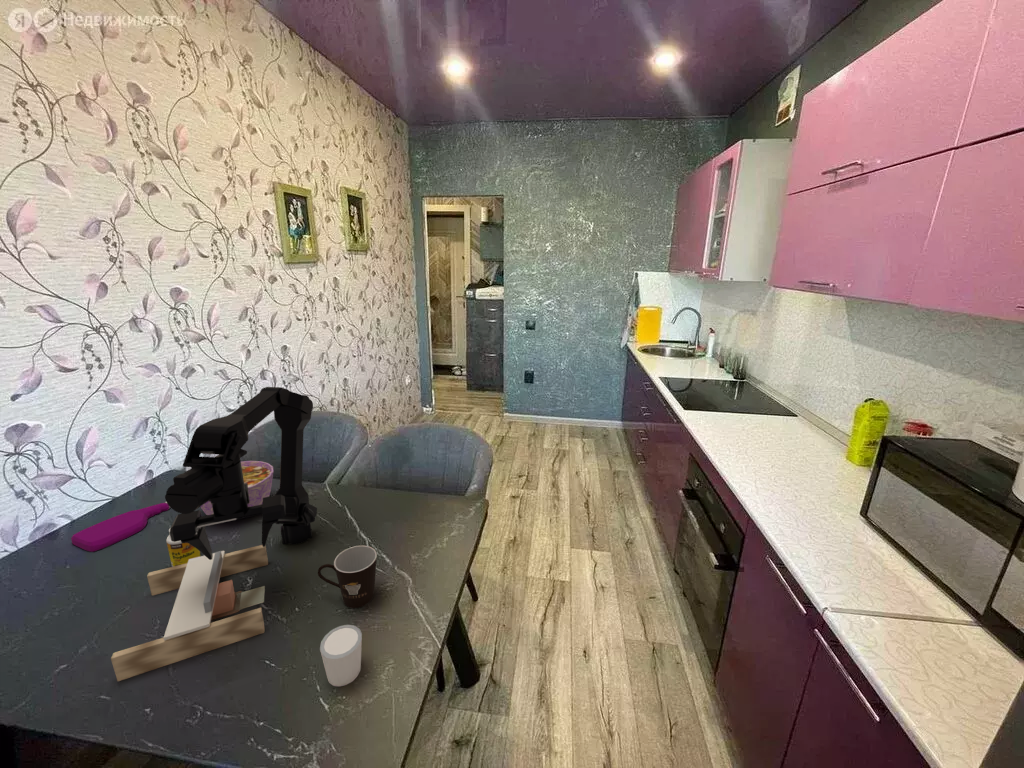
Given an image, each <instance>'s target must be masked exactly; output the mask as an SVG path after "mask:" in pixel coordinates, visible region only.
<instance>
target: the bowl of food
mask: <svg viewBox="0 0 1024 768" xmlns="http://www.w3.org/2000/svg"><path fill="white" fill-rule="evenodd" d="M241 467H242V473H243V479H244V483H247V484H248V493H249V500H250V501H249V504H248V507H251V506H256V505H261V504H262V503H263V498H265V497H270V495H271V491H272V485H273V477H274V466H273V465H271V464H270V463H269V462H265V461H262V460H261V461H260V460H259V461H258V460H246V461H241ZM199 508H201V510H202V511H203V512H204V515H205V516H206V515H211V514H213V509H212V503H211V501H210V502H209V501H208V502H206V503H205V504H203V505H202V506H200V507H199Z"/></svg>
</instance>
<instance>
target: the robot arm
mask: <svg viewBox="0 0 1024 768" xmlns="http://www.w3.org/2000/svg"><path fill="white" fill-rule="evenodd" d="M313 409H314V403H313V401H312V399H310V397H309V396H308V395H307V394H306V395H305V394H300V393H298V392H294V391H292V390H289V389H287V388H285V387H279V386H266V387H263V388H261V389H260V390H259V392H258V393H257V394H255V396H253V397H251V398H250V399H249V400H248V401H246V402H245V403H243V404H242V405H241V406H239V407H238V408H237V409H235V410H234V411H232V412H231V413H229V414H228V415H226V416H221V417H217V418H214V419H210V420H208V421H207V422H204V423H202V424H201V425H199V426H198V427H196V429H195V430H194V433H193V435H192V437H191V440H190V443H189V446H188V449H187V450H186V451H187V452H186V455H185V458H184V461H183V462H182V463H183V464H182V467H183V468H190V469H188V470H186V471H184V472H183V473H180V474H177V475H176V476H174V477H173V479H172V481H173V484H172V485H170V486H168V488H167V489H166V492H165V495H164V498H165V502H167V504H168V505H169V506H170V507H171V508H170V509H171V510H173V511H174V512H176V513H178V514H177V515H176V516H175V517H174V520H173V522H172V524H171V526H170V528H169V529H170V536H171V541H174V542H176V541H180V540H181V543H189V544H190V545H192V546H193V547H195V548H196V549H198V550H199V551H200V554H201V555H203V556H204V555H205V556H206V557H207V558H208V559H209V560H211V559H212V557H213V555H212V553H213V550H212V546H211V543H210V540H209V537H208V534H207V528H206V527H207V526H208V527H209V526H213V525H217V524H223V523H226V522H231V521H236V520H240V519H245V518H249V517H254V516H259V515H262V521H261V545H262V546H263V547H265V545H266V544H267V540H268V536H269V534H270V531H271V529H272V528H273V527H272V526H273V525H274V524H275V525H281V526H280V535H281V541H282V545H299V544H302V543H305V542H307V541H308V540H310V539H312V538H313V534H312V531H313V529H312V525H311V524H312V523H314V522H315V521H316V517H317V514H318V507H316V506H315V505H312V504H310V500H309V493H308V492H307V490H306V488H304V486H303V463H304V462H303V461H304V460H303V459H304V457H303V456H304V454H303V453H304V430H305V428H306V426H307V425H308V424H309V422H310V420H311V418H312V413H313ZM272 413H273V416H274V421H275V422H276V424H277V425H278V427H279V429H280V430H281V431H280V432H281V433H280V434H281V437H280V440H281V441H280V468H279V469H280V471H279V475H280V477H279V488H278V490H277V491H276V493H275V494H274V495H271V496H269V497H265V498H263V503H262V504H261V505H256V506H251V507H248V504H249V501H250V500H249V493H248V484H247V483H244V479H243V473H242V467H241V462H242V460H241V458H242V457H244V456H245V455H247V453H248V451H247V450H245V449H243V446H245V444H246V443H247V442H248V441H249V433H250V432H251V431H252V429H254V428H255V427H256V426H258V424H260V423H261V422H262V421H263V420H264V419H266V418H267V417H268V416H270V414H272ZM201 454H202V455H216V456H200V455H201ZM208 501H209V502H210V501H211V503H212V509H213V514H211V515H206V514H205V515H203V514H202V511H201V510H200V509H199V508H201V507H200V506H202V505H203V504H205V503H206V502H208ZM197 509H198V510H197Z"/></svg>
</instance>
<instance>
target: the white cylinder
mask: <svg viewBox="0 0 1024 768" xmlns="http://www.w3.org/2000/svg"><path fill="white" fill-rule="evenodd" d="M362 637H363V633H362V631H361V629H360V628H359V627H357V626H356V625H353V624H344V625H343V624H342V625H338V626H337V627H334V628H332V629H331V630H330V631H329V632H327V633H326V634H325V635H324V637H323V638H322V640H321V642H320V647H319V651H320V654H321V657H322V658H321V659H322V662H323V667H324V671H325V674H326V678H327V680H328V683H329V684H330V685H332V686H333V687H343V686H347V685H349V684H351V683H352V682H354V681H355V679H356V678H357V677H358V676H359V674H360V672H361V669H362V665H361V664H362V646H363V645H362V642H363V641H362Z"/></svg>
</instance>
